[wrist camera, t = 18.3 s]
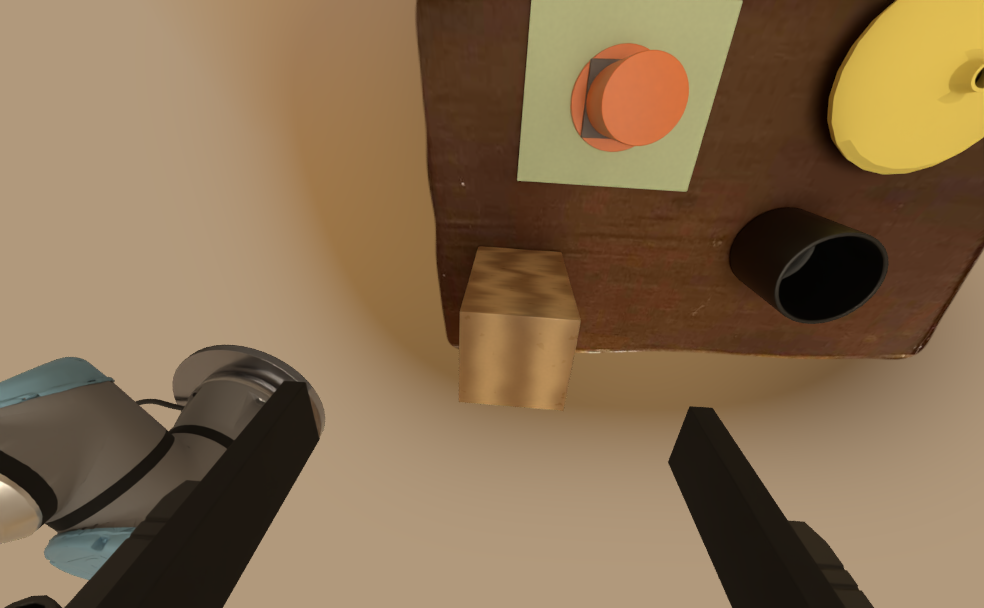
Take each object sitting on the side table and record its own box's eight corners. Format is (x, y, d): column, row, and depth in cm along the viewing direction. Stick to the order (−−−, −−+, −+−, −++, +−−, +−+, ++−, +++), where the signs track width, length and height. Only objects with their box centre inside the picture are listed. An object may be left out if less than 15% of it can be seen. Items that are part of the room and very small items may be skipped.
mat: (517, 179, 41) (516, 180, 40) (531, -7, 33) (532, -10, 32) (683, 189, 40) (686, 191, 39) (737, 3, 33) (743, 0, 32)
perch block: (475, 317, 50) (458, 402, 36) (478, 245, 45) (459, 311, 31) (551, 323, 49) (563, 411, 35) (561, 251, 45) (581, 320, 31)
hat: (565, 149, 38) (576, 161, 31) (576, 43, 34) (593, 25, 26) (654, 152, 38) (688, 165, 30) (677, 45, 34) (724, 28, 26)
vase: (936, 176, 38) (1017, 190, 32) (780, 162, 38) (830, 174, 32) (1060, -24, 31) (1198, -56, 24) (865, -39, 31) (951, -74, 25)
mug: (804, 298, 45) (865, 340, 37) (712, 274, 45) (754, 311, 37) (859, 225, 41) (941, 254, 33) (758, 196, 40) (816, 220, 32)
